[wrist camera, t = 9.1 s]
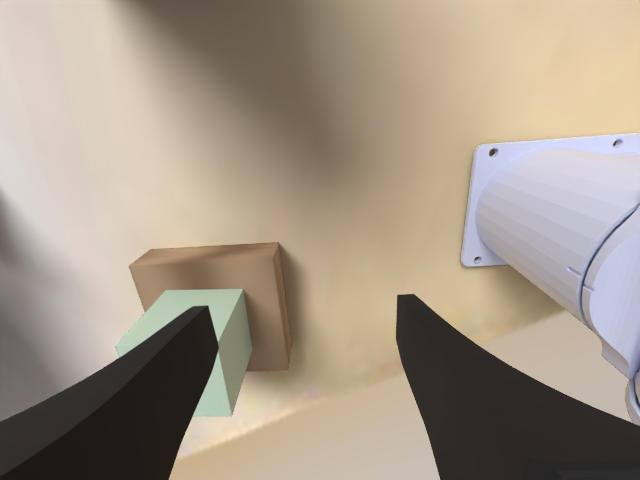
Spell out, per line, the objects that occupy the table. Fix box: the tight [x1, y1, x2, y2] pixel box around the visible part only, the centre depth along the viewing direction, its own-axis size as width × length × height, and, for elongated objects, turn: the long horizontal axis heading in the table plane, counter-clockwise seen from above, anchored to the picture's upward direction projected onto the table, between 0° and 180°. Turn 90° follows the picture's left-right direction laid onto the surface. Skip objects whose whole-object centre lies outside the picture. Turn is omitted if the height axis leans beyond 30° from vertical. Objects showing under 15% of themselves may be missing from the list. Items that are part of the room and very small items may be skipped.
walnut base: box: [129, 242, 292, 371], centre depth 21 cm, size 9×9×3 cm
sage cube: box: [115, 289, 252, 417], centre depth 18 cm, size 5×5×5 cm
